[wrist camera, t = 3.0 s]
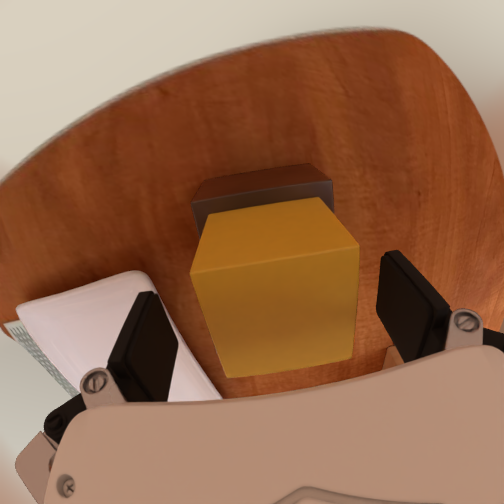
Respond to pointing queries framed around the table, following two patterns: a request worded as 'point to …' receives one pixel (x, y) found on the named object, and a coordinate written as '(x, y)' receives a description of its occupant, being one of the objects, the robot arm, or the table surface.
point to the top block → (277, 286)
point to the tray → (103, 332)
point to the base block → (260, 190)
